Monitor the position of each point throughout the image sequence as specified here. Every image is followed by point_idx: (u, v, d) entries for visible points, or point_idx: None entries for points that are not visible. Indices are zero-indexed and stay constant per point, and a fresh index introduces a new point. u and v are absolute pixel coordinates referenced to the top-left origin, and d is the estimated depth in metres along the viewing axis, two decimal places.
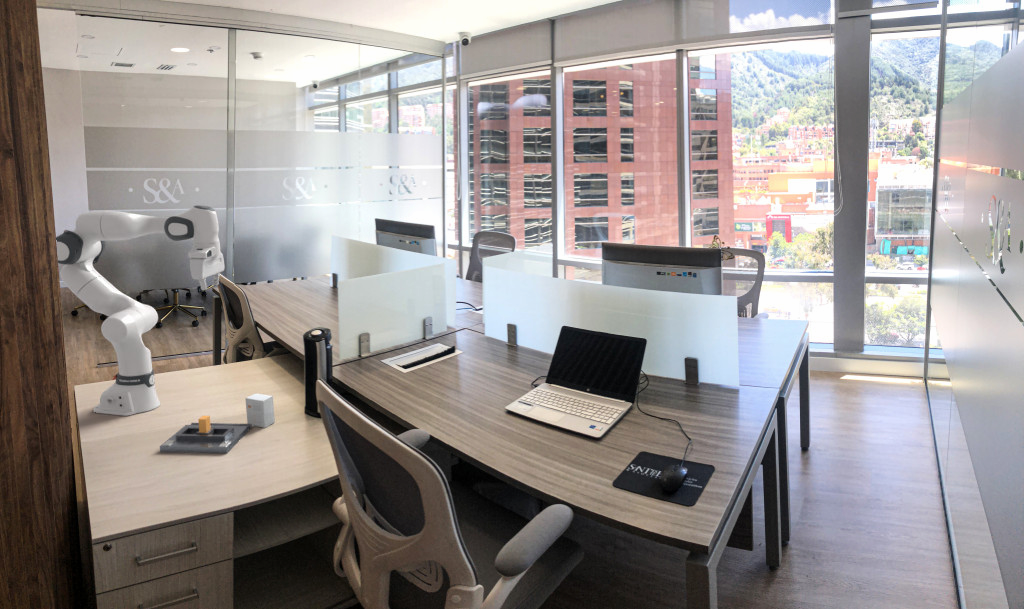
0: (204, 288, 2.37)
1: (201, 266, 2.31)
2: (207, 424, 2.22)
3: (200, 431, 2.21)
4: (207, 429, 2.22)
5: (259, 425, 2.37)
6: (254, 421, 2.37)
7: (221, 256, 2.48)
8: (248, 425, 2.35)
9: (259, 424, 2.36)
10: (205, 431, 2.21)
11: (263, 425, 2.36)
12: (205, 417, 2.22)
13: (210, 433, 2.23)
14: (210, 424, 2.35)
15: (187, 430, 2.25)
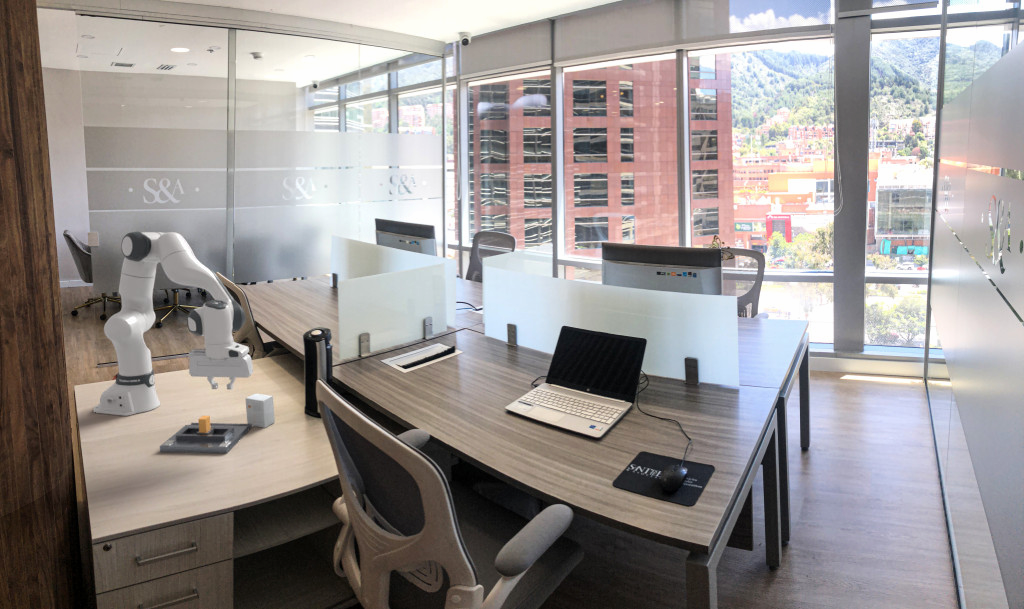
0: (232, 386, 2.20)
1: (251, 361, 2.20)
2: (207, 424, 2.22)
3: (200, 431, 2.21)
4: (207, 429, 2.22)
5: (259, 425, 2.37)
6: (254, 421, 2.37)
7: None
8: (248, 425, 2.35)
9: (259, 424, 2.36)
10: (205, 431, 2.21)
11: (263, 425, 2.36)
12: (205, 417, 2.22)
13: (210, 433, 2.23)
14: (210, 424, 2.35)
15: (187, 430, 2.25)
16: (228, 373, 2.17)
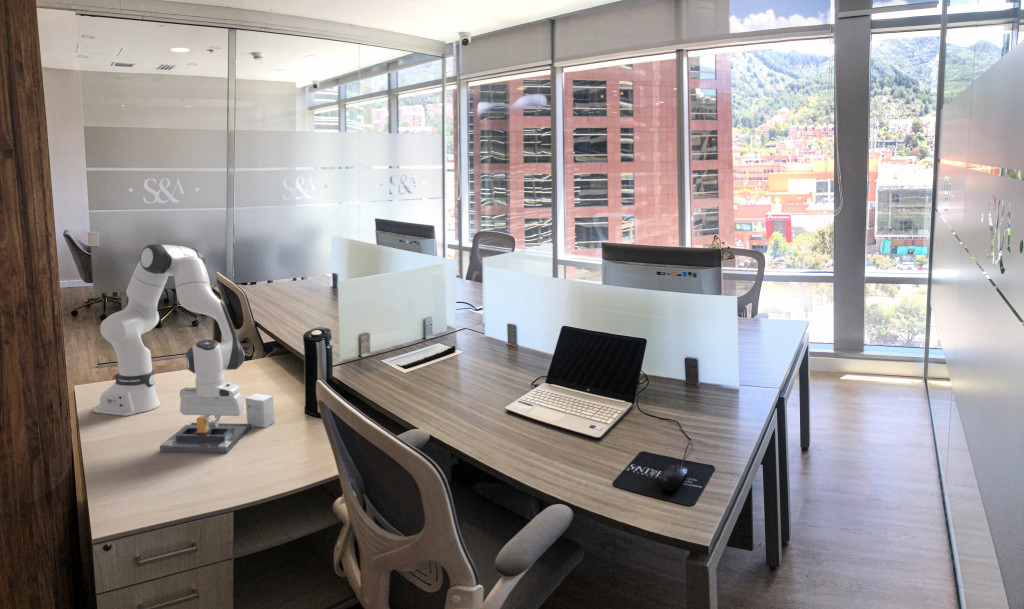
0: (217, 424, 2.23)
1: None
2: (205, 424, 2.22)
3: (198, 431, 2.21)
4: (205, 429, 2.22)
5: (259, 425, 2.37)
6: (254, 421, 2.37)
7: None
8: (248, 425, 2.35)
9: (259, 424, 2.36)
10: (203, 431, 2.21)
11: (263, 425, 2.36)
12: (203, 417, 2.22)
13: (208, 433, 2.23)
14: None
15: (187, 430, 2.25)
16: (219, 411, 2.20)
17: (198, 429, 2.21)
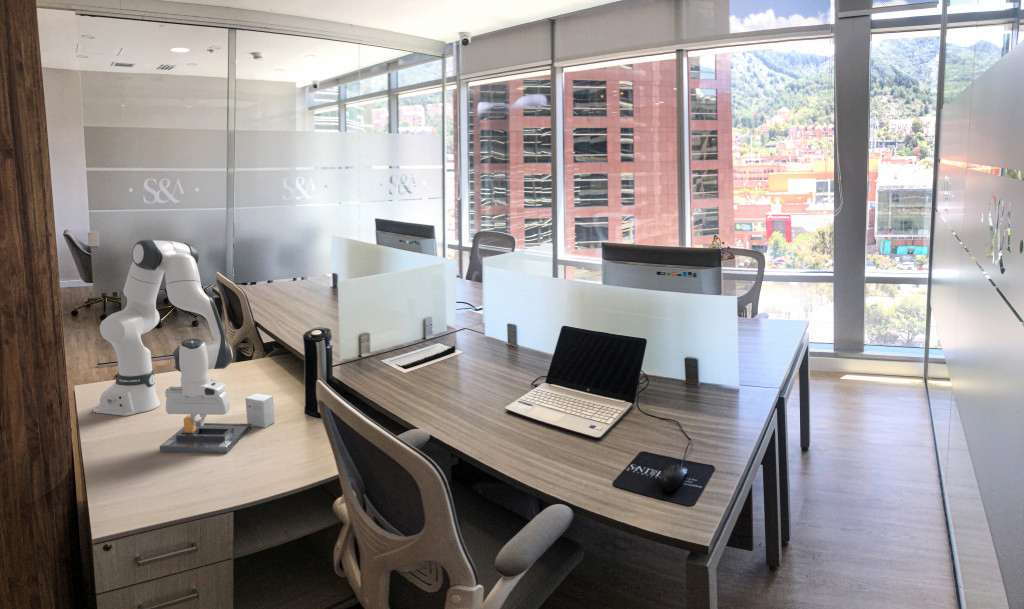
0: (203, 423, 2.23)
1: None
2: (192, 424, 2.22)
3: (185, 431, 2.21)
4: (192, 429, 2.22)
5: (259, 425, 2.37)
6: (254, 421, 2.37)
7: None
8: (248, 425, 2.35)
9: (259, 424, 2.36)
10: (190, 431, 2.21)
11: (263, 425, 2.36)
12: (190, 417, 2.22)
13: (195, 433, 2.23)
14: (210, 424, 2.35)
15: None
16: (204, 410, 2.20)
17: (185, 429, 2.21)
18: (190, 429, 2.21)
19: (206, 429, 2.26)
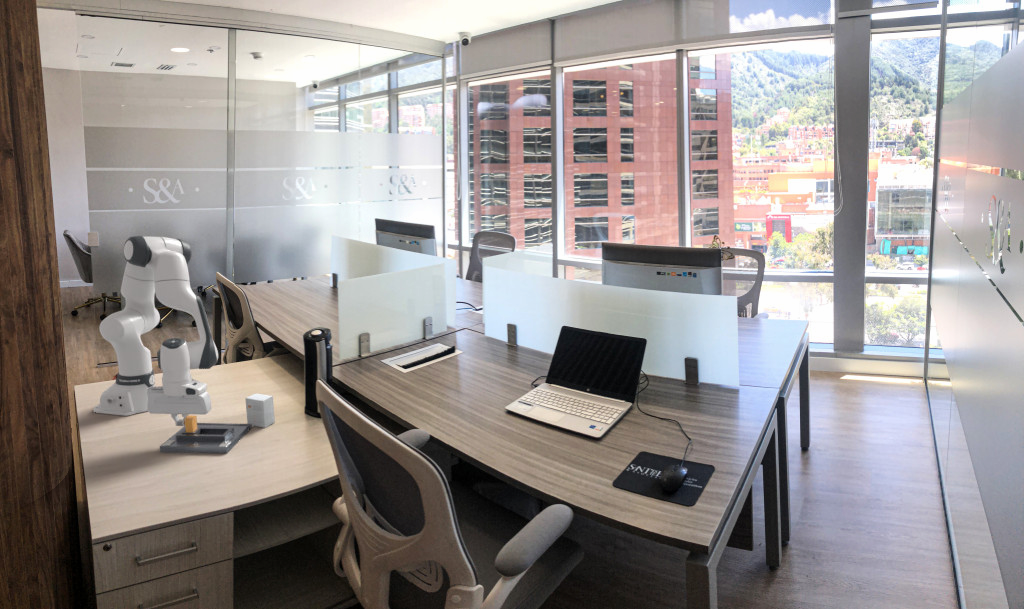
0: None
1: (209, 397, 2.22)
2: (193, 424, 2.22)
3: (186, 431, 2.21)
4: (193, 429, 2.22)
5: (259, 425, 2.37)
6: (254, 421, 2.37)
7: None
8: (248, 425, 2.35)
9: (259, 424, 2.36)
10: (191, 431, 2.21)
11: (263, 425, 2.36)
12: (191, 417, 2.22)
13: (197, 433, 2.23)
14: (210, 424, 2.35)
15: None
16: (186, 410, 2.19)
17: (186, 429, 2.21)
18: (191, 429, 2.21)
19: (206, 429, 2.26)
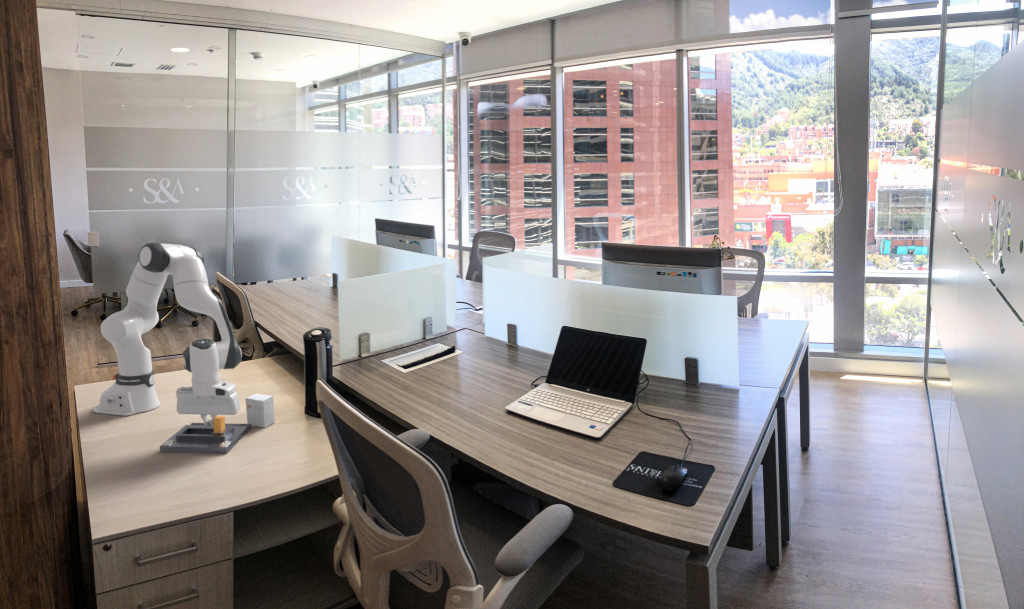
0: None
1: (238, 398, 2.23)
2: (222, 424, 2.22)
3: (215, 431, 2.21)
4: (221, 429, 2.22)
5: (259, 425, 2.37)
6: (254, 421, 2.37)
7: None
8: (248, 425, 2.35)
9: (259, 424, 2.36)
10: (220, 431, 2.21)
11: (263, 425, 2.36)
12: (219, 417, 2.22)
13: None
14: None
15: (187, 430, 2.25)
16: (215, 411, 2.20)
17: (215, 429, 2.21)
18: (220, 430, 2.21)
19: (206, 429, 2.26)
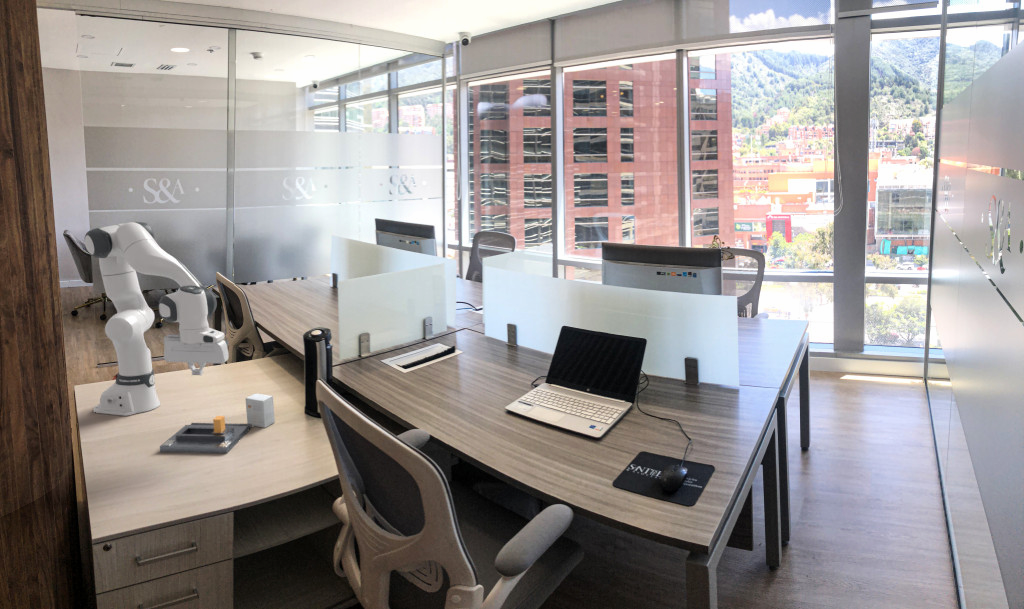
0: (202, 372, 2.19)
1: None
2: (222, 424, 2.22)
3: (215, 431, 2.21)
4: (221, 429, 2.22)
5: (259, 425, 2.37)
6: (254, 421, 2.37)
7: None
8: (248, 425, 2.35)
9: (259, 424, 2.36)
10: (220, 431, 2.21)
11: (263, 425, 2.36)
12: (219, 417, 2.22)
13: None
14: (210, 424, 2.35)
15: (187, 430, 2.25)
16: (203, 359, 2.16)
17: (215, 429, 2.21)
18: (220, 430, 2.21)
19: (206, 429, 2.26)
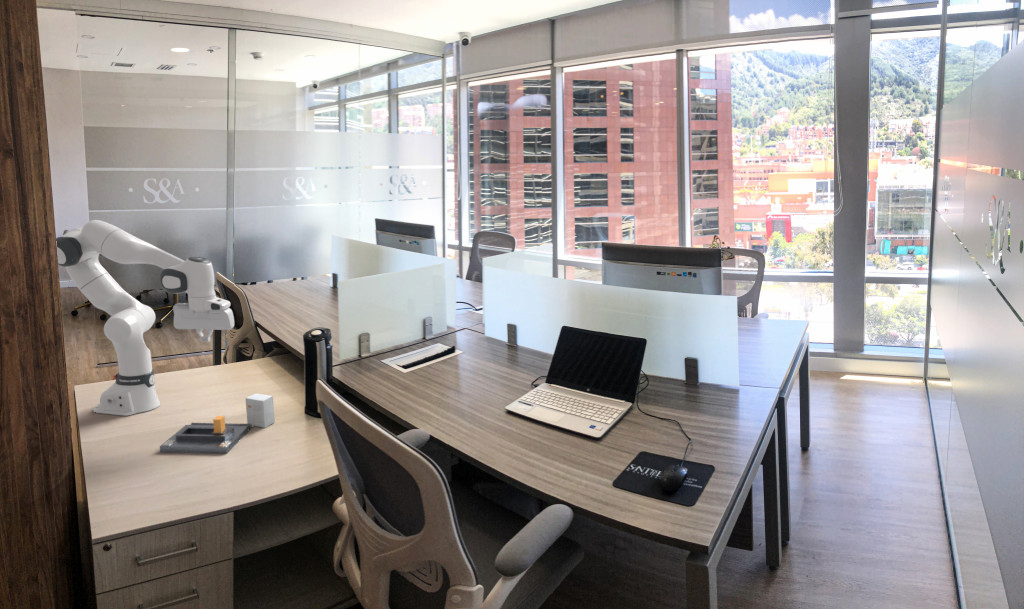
0: (209, 339, 2.33)
1: None
2: (222, 424, 2.22)
3: (215, 431, 2.21)
4: (221, 429, 2.22)
5: (259, 425, 2.37)
6: (254, 421, 2.37)
7: None
8: (248, 425, 2.35)
9: (259, 424, 2.36)
10: (220, 431, 2.21)
11: (263, 425, 2.36)
12: (219, 417, 2.22)
13: None
14: (210, 424, 2.35)
15: (187, 430, 2.25)
16: (210, 325, 2.30)
17: (215, 429, 2.21)
18: (220, 430, 2.21)
19: (206, 429, 2.26)
